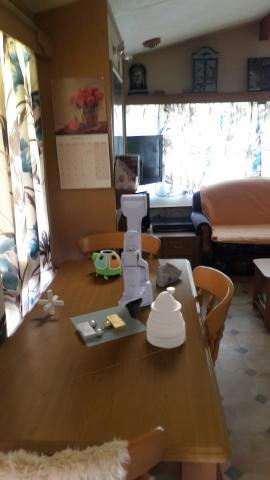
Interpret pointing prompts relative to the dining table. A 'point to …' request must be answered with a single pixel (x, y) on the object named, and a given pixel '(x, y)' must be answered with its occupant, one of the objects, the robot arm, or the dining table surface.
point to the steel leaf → (89, 330)
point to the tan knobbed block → (114, 323)
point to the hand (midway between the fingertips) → (133, 317)
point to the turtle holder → (107, 263)
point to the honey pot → (166, 321)
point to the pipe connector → (50, 302)
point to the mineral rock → (167, 274)
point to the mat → (110, 334)
